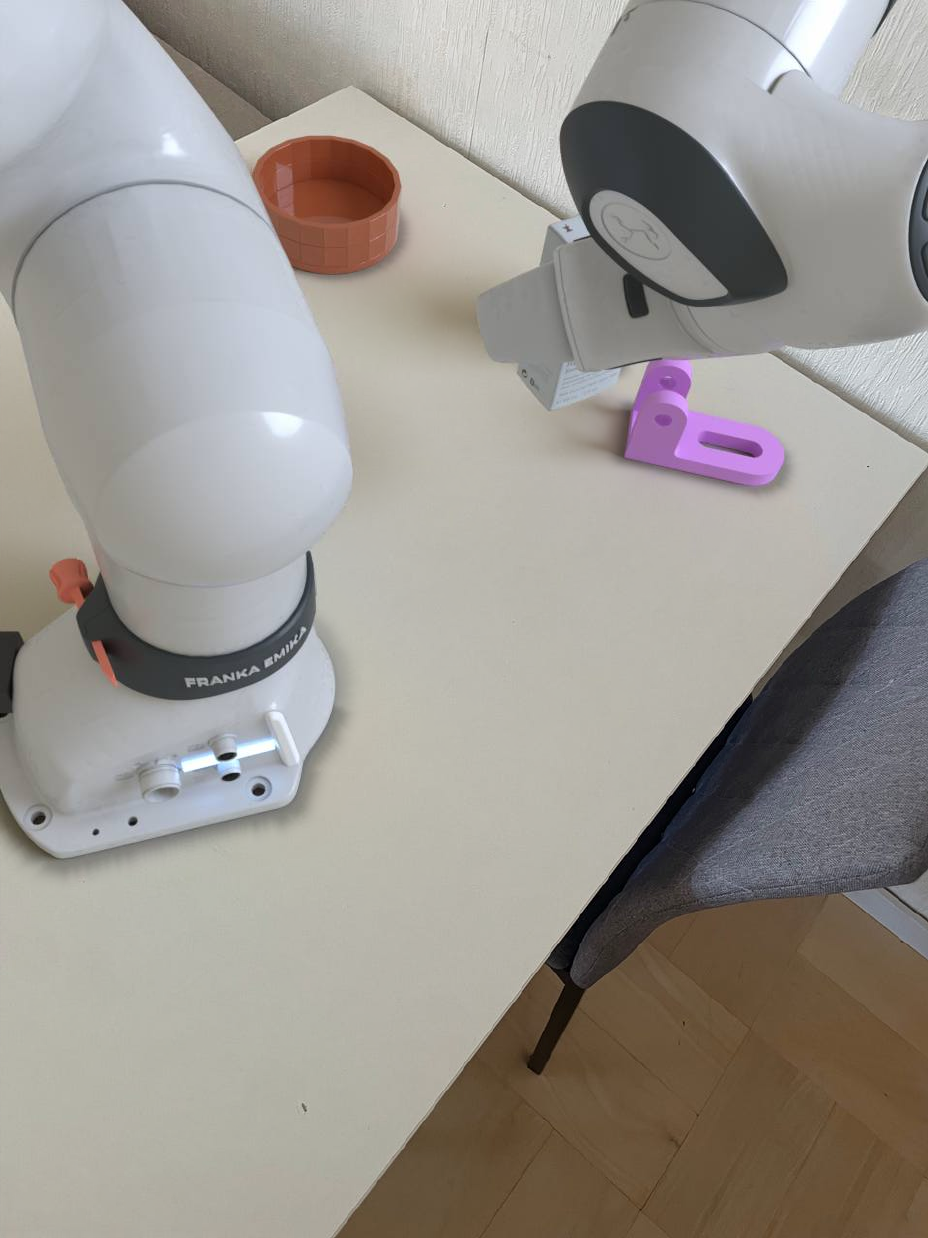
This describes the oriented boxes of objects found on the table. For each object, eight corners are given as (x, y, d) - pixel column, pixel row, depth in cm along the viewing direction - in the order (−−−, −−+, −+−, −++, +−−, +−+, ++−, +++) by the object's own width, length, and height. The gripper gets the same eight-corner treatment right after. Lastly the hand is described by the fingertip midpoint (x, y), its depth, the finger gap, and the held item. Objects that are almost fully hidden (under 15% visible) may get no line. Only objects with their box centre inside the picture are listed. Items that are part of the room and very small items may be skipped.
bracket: (624, 457, 85) (646, 398, 79) (631, 409, 88) (652, 349, 82) (777, 492, 85) (810, 435, 79) (779, 443, 88) (811, 384, 82)
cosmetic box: (549, 415, 69) (587, 269, 59) (512, 372, 71) (543, 223, 61) (620, 385, 71) (668, 239, 61) (582, 344, 73) (623, 196, 63)
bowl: (289, 288, 91) (287, 241, 87) (234, 199, 97) (230, 151, 92) (421, 254, 95) (425, 208, 91) (361, 170, 101) (363, 123, 97)
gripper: (856, 169, 56) (701, 213, 68) (537, 251, 49) (429, 284, 62) (871, 286, 58) (717, 309, 70) (565, 381, 51) (455, 388, 63)
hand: (580, 298), depth 66 cm, fingers closed on cosmetic box, 6 cm apart
